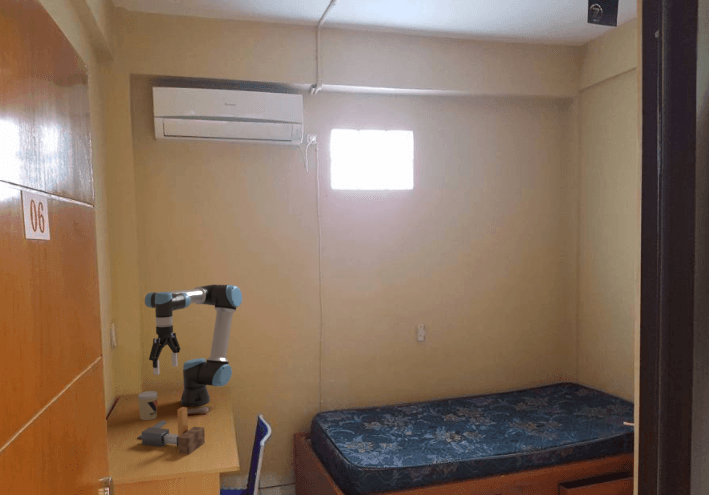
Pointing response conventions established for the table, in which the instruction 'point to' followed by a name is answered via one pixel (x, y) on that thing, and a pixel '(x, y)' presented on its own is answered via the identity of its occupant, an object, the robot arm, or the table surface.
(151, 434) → the dark grey block
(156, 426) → the half round rod
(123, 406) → the table surface
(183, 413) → the sliding bar
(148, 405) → the coffee cup
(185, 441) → the walnut socket
